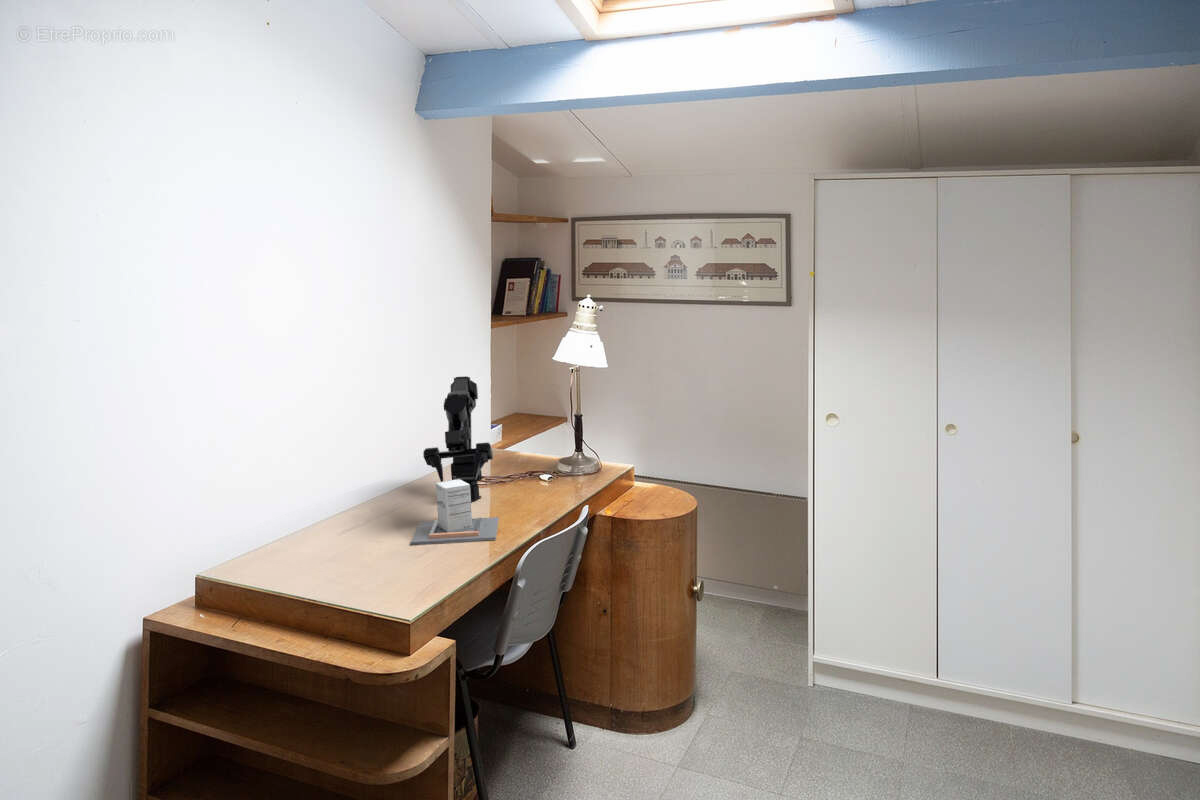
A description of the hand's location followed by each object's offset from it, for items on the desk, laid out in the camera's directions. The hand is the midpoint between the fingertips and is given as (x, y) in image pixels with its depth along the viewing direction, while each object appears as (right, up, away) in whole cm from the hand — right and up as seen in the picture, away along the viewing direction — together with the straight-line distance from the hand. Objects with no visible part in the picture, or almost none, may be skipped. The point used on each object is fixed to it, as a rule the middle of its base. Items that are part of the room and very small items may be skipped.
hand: (458, 481), depth 219 cm
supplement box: (0, -13, -2) cm, 13 cm away
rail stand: (0, -14, -3) cm, 14 cm away
